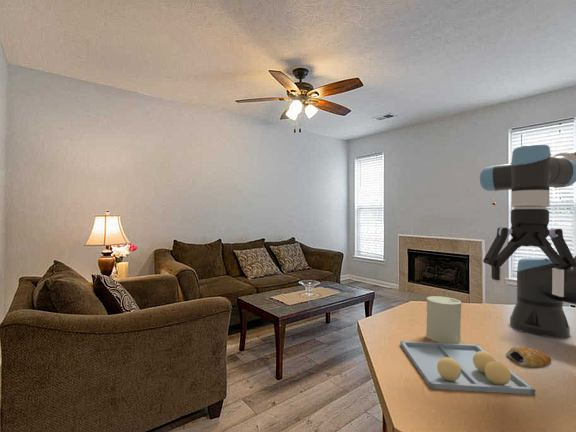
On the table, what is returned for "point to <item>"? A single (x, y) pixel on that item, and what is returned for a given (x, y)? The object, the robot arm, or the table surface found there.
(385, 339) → the table surface
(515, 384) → the sorting tray
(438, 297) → the can
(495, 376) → the ball
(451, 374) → the ball far
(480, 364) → the ball
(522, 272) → the robot arm
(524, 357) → the pastry
